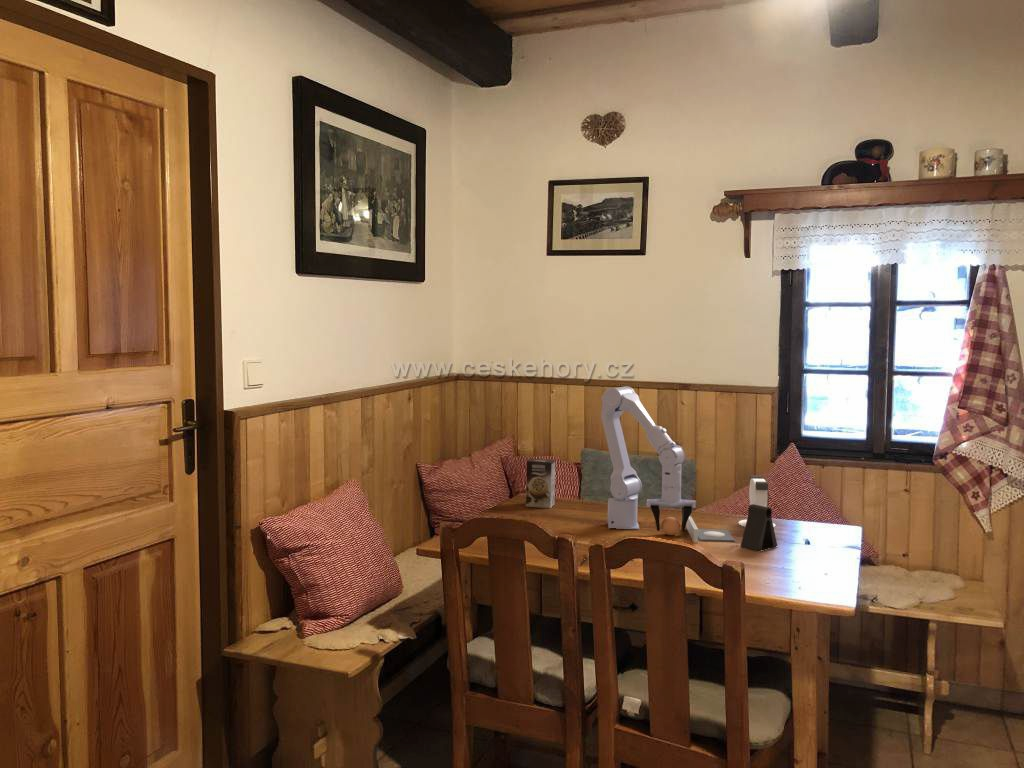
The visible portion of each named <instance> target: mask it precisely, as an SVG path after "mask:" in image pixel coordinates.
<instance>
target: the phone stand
mask: <svg viewBox="0 0 1024 768" xmlns="http://www.w3.org/2000/svg"><path fill="white" fill-rule="evenodd" d="M747 511H748V512H747V513H748V514H747V515H748V516H747V519H746V520H747V522H746V526H745V527H744V530H743V535H742V539H741V542H740V548H743V549H747V550H750V551H753V550H754V551H753V552H758V551H760V552H762V551H761V550H764V551H766V550H765V549H767V550H769V549H768V548H772V547H776V546H777V547H778V542H777V537H776V532H775V529H774V527H773V523H774V522H773V518H772V516H773V510H772V508H770V507H768V506H767V507H763V506H759V505H755V504H753V505H750V504H749V506H748V510H747ZM777 547H776V548H777ZM772 549H773V548H772ZM758 553H759V552H758Z"/></svg>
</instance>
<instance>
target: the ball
mask: <svg viewBox="0 0 1024 768" xmlns="http://www.w3.org/2000/svg"><path fill="white" fill-rule="evenodd" d="M660 528H661V531H662V532H663V533H664V534H666V535H668V536H674V535H677V533H678V532H679V531H680V529H681V524H680V521H679V520H678V519H677V518H676V517H674V516H668V517H665V518H664V519H663V520H662V521H661V526H660Z"/></svg>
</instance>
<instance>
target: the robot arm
mask: <svg viewBox="0 0 1024 768" xmlns="http://www.w3.org/2000/svg"><path fill="white" fill-rule="evenodd" d="M601 402H602V407H601V412H600V417H601V422H602V426H603V430H604V434H605V439H606V443H607V447H608V452H609V456H610V459H611V464H612V469H613V471H612V473H611V475H610V487H609V489H610V492H611V493H610V494H611V495H612V497H613V498H610V497H608V500H607V515H606V522H607V528H608V529H610V528H616V529H617V530H620V529H621V530H623V529H624V530H640V525H639V522H638V502H639V501H638V498H639V494H640V493H641V492H642V488H643V484H642V481H641V479H640V478H639V476H638V473H637V471H636V470H635V469H634V468H633V467H632V466H631V462H630V457H629V454H628V448H627V445H626V441H625V437H624V433H623V427H622V424H621V420H620V418H621V416H622V414H623V413H624V412H626V413H629V414H631V415H632V416H633V418H634V419H635V420H636V421H637V423H639V424H640V426H641V427H642V428H643V430H644V431H645V432H646V434H645V436H646V439H647V440H648V442H649V443H650V444H651V445H650V446H652V448H653V449H654V450H655V452H657V454H658V461H659V463H660V464H661V470H662V471H661V473H662V474H661V498H650V499H646V506H647V508H650V510H651V511H652V515H653V517H654V521H655V526H656V531H657V532H658V531H659V532H660V528H661V526H660V514H661V510H660V508H662V507H663V508H665V507H666V508H681V525H680V529H681V532H685V531H686V528H687V520H688V518H689V516H691V514H692V513H693V509H696V508H697V507H696V506H697V500H694V499H683V498H682V469H683V467H682V465H683V464H682V463H683V462H684V461H685V460H686V452H685V450H684V448H683V447H682V446H680V445H679V444H677V443H676V442H675V441H673V440H672V439H671V437H670V435H668V433H667V432H668V431H667V429H666V428H665V427H663V426H661V425H656V424H655V422H654V420H653V419H652V417H651V416H650V415H649V413H648V411H647V410H646V408H645V407H644V406H643V404H642V402H641V400H640V397H639V395H638V394H637V393H636V392H635V390H634V389H633V388H632V387H631V386H630V385H629V386H628V385H625V386H621V387H608V388H607V389H606V390H605V392H604V393H603V394H602V396H601Z"/></svg>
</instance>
